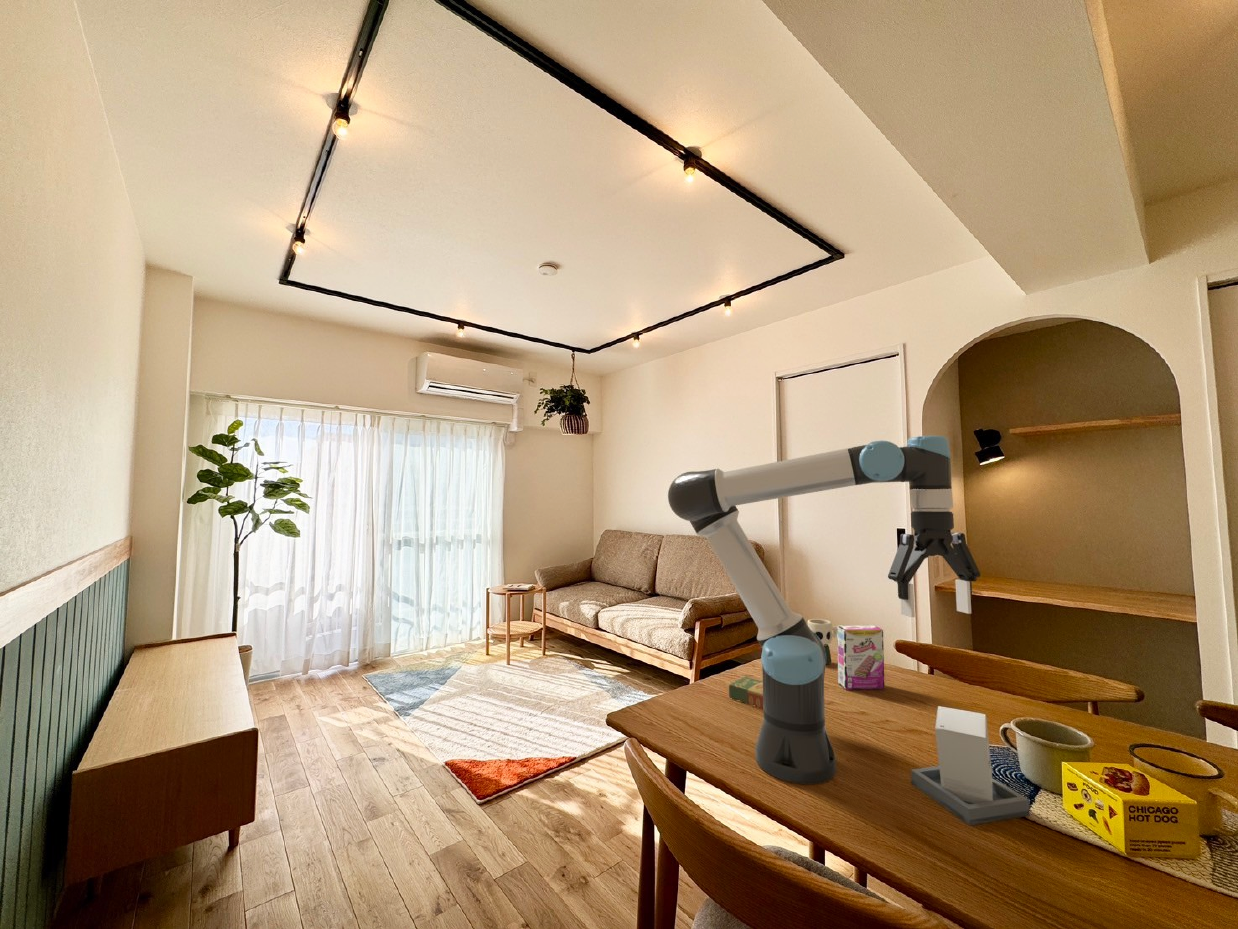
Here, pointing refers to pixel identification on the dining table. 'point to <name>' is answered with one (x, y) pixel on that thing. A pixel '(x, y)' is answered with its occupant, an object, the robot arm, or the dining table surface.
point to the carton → (747, 691)
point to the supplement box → (964, 754)
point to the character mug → (823, 633)
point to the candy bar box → (860, 657)
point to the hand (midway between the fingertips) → (936, 614)
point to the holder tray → (1000, 808)
